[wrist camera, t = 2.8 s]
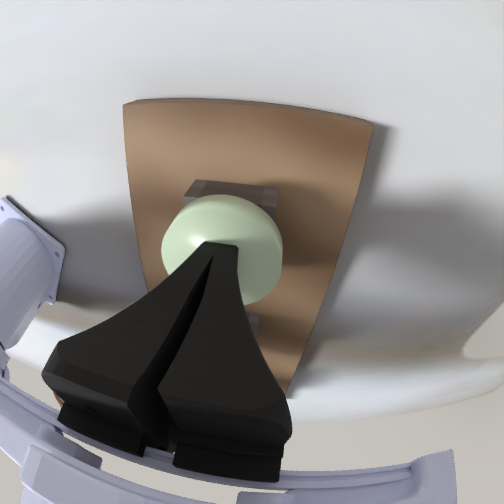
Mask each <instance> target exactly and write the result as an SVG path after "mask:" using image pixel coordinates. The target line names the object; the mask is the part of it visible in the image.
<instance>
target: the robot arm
mask: <svg viewBox="0 0 504 504" xmlns="http://www.w3.org/2000/svg"><path fill="white" fill-rule="evenodd" d="M238 252H239V248H238V247H237V246H236V245H229V244H221V243H214V242H206V241H204V242H203V243H201V244H200V246H199V247H198V248H197V249H196V250H195V251H194V252H193V253H192V254H191V255H190V256H189V257H188V258H187V259H186V260H185V261H184V262H183V263H182V264H181V265H180V266H179V267H178V268H177V269H176V270H174V271H173V272H172V273H171V274H170V275H169V276H168V277H167V278H166V279H164V280H163V281H162V282H161V283H160V284H159V285H157V286H156V287H155V288H154V289H153V290H151V291H150V292H149V293H148V294H146V295H145V296H144V297H142V298H141V299H139V300H138V301H137V302H135V303H134V304H132V305H131V306H129V307H128V308H126V309H124V310H123V311H121V312H120V313H118V314H116V315H115V316H113V317H111V318H109V319H108V320H106V321H104V322H102V323H100V324H98V325H96V326H94V327H92V328H90V329H88V330H86V331H83V332H81V333H78V334H76V335H74V336H71V337H69V338H66V339H64V340H61V341H59V342H58V343H57V345H56V347H55V348H54V350H53V352H52V354H51V355H50V357H49V359H48V361H47V363H46V365H45V367H44V369H43V371H42V374H41V375H42V378H43V380H44V381H45V383H46V384H47V385H48V386H49V387H50V388H51V389H52V390H53V391H54V392H55V393H56V394H57V395H58V396H59V397H60V398H61V399H62V400H63V401H64V403H63V406H62V408H61V410H60V411H59V410H57V409H55V408H53V407H51V406H49V405H47V404H45V403H43V402H41V401H40V400H38V399H36V398H35V397H33V396H31V395H29V394H28V393H26V392H24V391H23V390H21V389H20V388H18V387H17V386H15V385H13V384H12V383H10V381H9V379H10V376H9V369H8V367H7V363H8V361H9V359H10V357H9V356H8V355H7V354H6V353H5V350H6V349H9V348H11V347H13V346H14V345H16V344H17V343H18V341H19V340H20V339H21V337H22V335H23V334H24V332H25V331H26V329H27V327H28V326H29V324H30V323H31V321H32V320H33V318H34V317H35V315H36V314H37V312H38V311H39V309H40V308H41V306H42V305H43V303H44V302H45V301H47V302H48V303H49V304H51V305H54V303H55V301H56V295H57V289H58V283H59V278H60V273H61V268H62V263H63V258H64V254H65V248H64V246H63V245H62V244H61V243H59V242H58V241H57V240H55V239H54V238H53V237H52V236H50V235H49V234H48V233H47V232H45V231H44V230H43V229H42V228H40V227H39V226H38V225H37V224H35V223H34V222H33V221H32V220H31V219H29V218H28V217H27V216H26V215H25V214H23V213H22V212H21V211H20V210H19V209H18V208H16V207H15V206H14V205H13V204H12V203H11V202H10V201H9V200H7V199H6V198H5V197H2V198H1V199H0V449H2V451H4V452H5V453H6V454H7V455H8V456H9V457H10V458H11V459H12V460H14V461H15V462H16V463H17V464H18V465H19V466H20V467H21V470H20V473H19V478H20V480H21V482H22V484H23V485H24V486H25V487H24V490H23V494H22V498H21V502H20V504H214V503H208V502H203V501H198V500H193V499H189V498H185V497H180V496H176V495H172V494H168V493H165V492H161V491H158V490H155V489H151V488H148V487H145V486H142V485H139V484H136V483H133V482H130V481H127V480H125V479H122V478H119V477H117V476H114V475H112V474H109V473H107V472H104V471H102V470H101V469H100V467H101V463H102V458H101V457H99V456H97V455H95V454H93V453H91V452H89V451H88V450H86V449H84V448H83V447H81V446H80V445H78V444H77V443H75V442H73V441H71V440H69V439H67V438H66V437H64V436H63V433H62V432H64V433H66V434H68V435H70V436H72V437H74V438H76V439H78V440H80V441H82V442H84V443H86V444H89V445H91V446H93V447H96V448H98V449H100V450H103V451H105V452H108V453H110V454H113V455H115V456H118V457H120V458H123V459H126V460H129V461H132V462H134V463H137V464H140V465H144V466H147V467H150V468H153V469H156V470H160V471H164V472H167V473H171V474H175V475H179V476H183V477H187V478H192V479H196V480H202V481H206V482H212V483H218V484H224V485H230V486H237V487H246V488H256V489H267V490H285V491H287V492H285V493H284V494H283V493H260V492H259V493H258V492H243V491H241V492H239V493H238V497H237V503H236V504H457V490H456V489H457V488H456V474H455V464H454V455H453V450H451V449H450V450H446V451H442V452H438V453H434V454H429V455H426V456H423V457H420V458H418V459H416V460H414V461H412V462H410V463H405V464H399V465H392V466H385V467H377V468H368V469H357V470H342V471H285V470H280V468H281V458H283V452H284V444H285V443H286V442H287V440H289V438H290V437H291V435H292V421H291V415H290V411H289V407H288V404H287V401H286V397H285V393H284V392H283V390H282V389H281V387H280V385H279V384H278V382H277V380H276V379H275V377H274V375H273V374H272V372H271V370H270V368H269V366H268V364H267V362H266V361H265V359H264V357H263V354H262V352H261V350H260V348H259V346H258V343H257V341H256V339H255V337H254V334H253V332H252V329H251V326H250V324H249V321H248V318H247V315H246V311H245V308H244V304H243V300H242V296H241V291H240V286H239V280H238V273H237V267H238ZM61 431H62V432H61ZM174 452H175V454H173V453H174Z"/></svg>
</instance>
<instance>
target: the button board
mask: <svg viewBox="0 0 504 504" xmlns="http://www.w3.org/2000/svg"><path fill="white" fill-rule="evenodd" d="M123 124H124V139H125V151H126V162H127V172H128V180H129V189H130V196H131V203H132V210H133V217H134V223H135V229H136V235H137V241H138V246H139V251H140V257H141V262H142V266H143V271H144V276H145V280H146V285H147V289H148V293H149V292H150V291H151V290H153V289H154V288H155V287H156V286H157V285H159V284H160V283H161V282H162V281H163V280H164V279H166V278H167V277H168V276H169V274H168V272H167V270H166V268H165V266H164V263H163V260H162V253H161V248H162V241H163V238H164V236H165V233H166V232H167V230H168V228H169V227H170V225H171V224H172V222H173V221H174V219H175V217H176V216H177V215H178V213H179V212H180V211H181V210H182V209H183V208H184V206H186V205H187V204H189V203H190V202H192V201H194V200H196V199H198V198H201V197H204V196H209V195H218V194H220V195H231V196H236V197H239V198H243V199H245V200H248V201H250V202H252V203H254V204H255V205H257V206H259V207H260V208H261V209H262V210H264V211H265V212H266V213H267V214H268V215H269V216H270V217H271V218H272V220H273V221H274V222H275V224H276V226H277V227H278V229H279V232H280V234H281V238H282V245H283V252H282V269H281V275H280V278H279V281H278V283H277V285H276V286H275V287H274V289H273V290H272V291H271V292H270V293H269V294H268V295H266V296H265V297H264V298H262V299H260V300H259V301H256V302H254V303H251V304H247V305H244V308H245V311H246V315H247V318H248V321H249V324H250V326H251V329H252V332H253V334H254V337H255V339H256V341H257V343H258V346H259V348H260V350H261V352H262V354H263V357H264V359H265V361H266V362H267V364H268V366H269V368H270V370H271V372H272V374H273V375H274V377H275V379H276V380H277V382H278V384H279V385H280V387H281V389H282V390H283V392H284V393H286V391H287V389H288V386H289V384H290V382H291V380H292V377H293V375H294V373H295V370H296V368H297V366H298V363H299V361H300V359H301V356H302V354H303V351H304V349H305V346H306V344H307V342H308V339H309V336H310V334H311V331H312V329H313V326H314V324H315V321H316V318H317V316H318V313H319V310H320V308H321V305H322V302H323V300H324V297H325V294H326V291H327V288H328V286H329V283H330V280H331V277H332V274H333V271H334V268H335V265H336V262H337V259H338V256H339V253H340V250H341V247H342V243H343V240H344V237H345V234H346V230H347V227H348V224H349V220H350V217H351V213H352V210H353V206H354V203H355V199H356V196H357V192H358V188H359V184H360V181H361V177H362V173H363V169H364V165H365V161H366V157H367V152H368V148H369V144H370V139H371V135H372V130H373V126H372V125H371V124H369V123H368V122H367V121H365V120H363V119H359V118H355V117H350V116H345V115H341V114H336V113H331V112H325V111H320V110H314V109H308V108H302V107H295V106H288V105H281V104H272V103H263V102H253V101H241V100H225V99H197V98H171V99H144V100H136V101H133V102H130V103H127V104H124V105H123Z"/></svg>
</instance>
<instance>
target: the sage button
mask: <svg viewBox="0 0 504 504" xmlns="http://www.w3.org/2000/svg"><path fill="white" fill-rule="evenodd" d="M204 241H206V242H214V243H221V244H229V245H236V246H237V247H238V248H239V252H238V267H237V273H238V280H239V286H240V291H241V296H242V300H243V304H244V305H247V304H251V303H254V302H256V301H259V300H260V299H262V298H264V297H265V296H266V295H268V294H269V293H270V292H271V291H272V290H273V289H274V287H275V286H276V285H277V283H278V281H279V278H280V275H281V269H282V252H283V245H282V238H281V234H280V232H279V229H278V227H277V226H276V224H275V222H274V221H273V220H272V218H271V217H270V216H269V215H268V214H267V213H266V212H265V211H264V210H262V209H261V208H260V207H259V206H257V205H255V204H254V203H252V202H250V201H248V200H245V199H243V198H239V197H236V196H231V195H220V194H218V195H209V196H204V197H201V198H198V199H196V200H194V201H192V202H190V203H189V204H187V205H186V206H184V208H183V209H182V210H181V211H180V212H179V213H178V215H177V216H176V217H175V219H174V221H173V222H172V224H171V225H170V227H169V228H168V230H167V232H166V233H165V236H164V238H163V241H162V248H161V253H162V260H163V263H164V266H165V268H166V270H167V272H168V274H169V275H170V274H171V273H172V272H173V271H174V270H176V269H177V268H178V267H179V266H180V265H181V264H182V263H183V262H184V261H185V260H186V259H187V258H188V257H189V256H190V255H191V254H192V253H193V252H194V251H195V250H196V249H197V248H198V247H199V246H200V244H201V243H203V242H204Z"/></svg>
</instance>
